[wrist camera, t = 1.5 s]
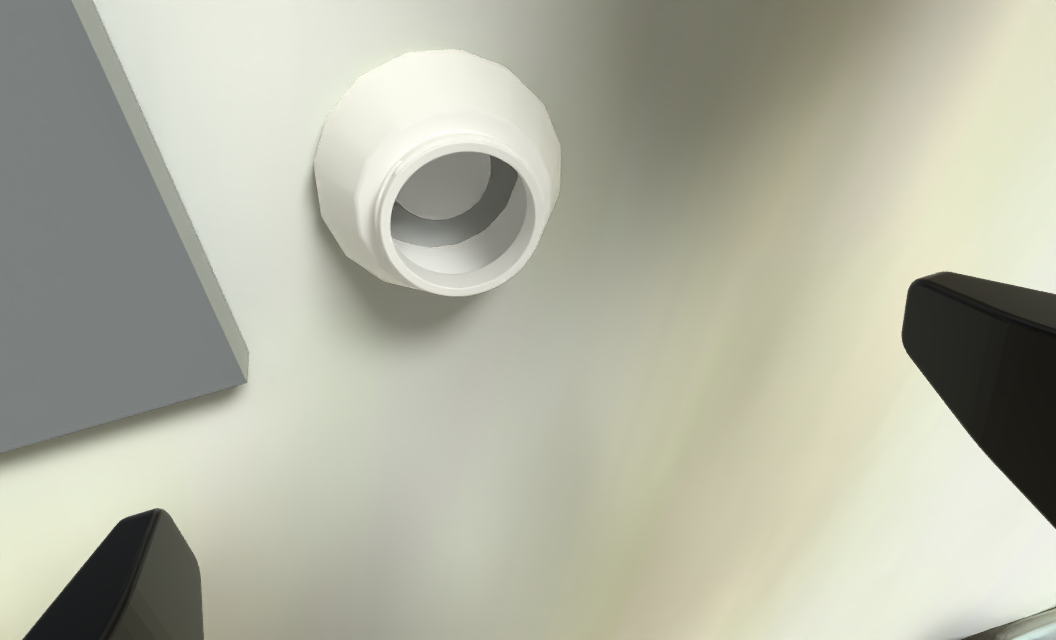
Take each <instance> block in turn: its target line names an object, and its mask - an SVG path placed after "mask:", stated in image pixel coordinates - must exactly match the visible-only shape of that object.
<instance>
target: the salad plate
mask: <svg viewBox="0 0 1056 640" xmlns="http://www.w3.org/2000/svg"><path fill="white" fill-rule="evenodd" d="M962 640H1056V608H1053V609H1050V610H1048V611H1045V612H1042V613H1039V614H1036V615H1033V616H1030V617H1027V618H1024V619H1021V620H1018V621H1015V622H1012V623H1009V624H1005V625H1002V626H999V627H995V628H992V629H989V630H986V631H984V632H981V633H978V634H975V635H973V636H970V637H967V638H964V639H962Z"/></svg>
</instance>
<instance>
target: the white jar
mask: <svg viewBox="0 0 1056 640" xmlns="http://www.w3.org/2000/svg"><path fill="white" fill-rule="evenodd" d="M489 155H491V156H494V157H496V158H499V159H501V160H503V161H504V162H506V163H508V164H509V165H510V166H512V167H513V168H514V169H515V170H516V171H517V181H516V184H515V186H514V189H513V191H512V194H511V196H510V199H509V201H508V204H507V206H506V208H505V209H504V210H503V211H502V212H501V213H500V214H499V216H498V217H497V218H496V219H495V220H494V221H493V222H492V223H491V224H490V225H489V226H488V228H487V229H486V230H484V231H482V232H480V233H478V234H476V235H474V236H472V237H470V238H469V239H467V240H465V241H463V242H461V243H459V244H453V245H445V246H437V247H429V248H427V247H423V246H419V245H414V244H410V243H406V242H402V241H398V240H396V239H395V238H393V237H392V236H391V228H390V223H391V213H392V209H393V205H394V202H395V199H396V200H397V202H398V203H399V204H400V205H401V206H402V207H403V208H404V209H405V210H407V211H408V212H410V213H411V214H413V215H415V216H418V217H421V218H424V219H429V220H444V219H450V218H453V217H456V216H459V215H461V214H463V213H464V212H466V211H468V210H469V209H470V208H472V207H473V206H474V205H475V204H476V203H477V202H478V201H479V200H480V198H481V197H482V196H483V194H484V192H485V190H486V188H487V186H488V183H489V179H490V174H491V161H490V156H489ZM560 170H561V146H560V143H559V141H558V138H557V136H556V133H555V131H554V128H553V126H552V123H551V121H550V118H549V116H548V113H547V111H546V108H545V106H544V104H543V103H542V102H541V101H540V100H539V99H538V98H537V97H536V96H535V95H534V94H533V93H532V92H531V91H530V90H529V89H528V88H527V87H526V86H525V85H524V84H523V83H522V82H521V81H520V80H519V79H518V78H517V77H516V76H515V75H514V74H513V73H512V72H511V71H510V70H508V69H507V68H506V67H505V66H502V65H500V64H497V63H494V62H492V61H489V60H486V59H484V58H481V57H478V56H476V55H473V54H470V53H468V52H465V51H462V50H460V49H454V50H436V51H418V52H406V53H404V54H402V55H400V56H398V57H396V58H394V59H392V60H390V61H388V62H386V63H384V64H382V65H380V66H378V67H376V68H374V69H372V70H370V71H368V72H366V73H364V74H362V75H360V76H359V78H358V79H357V80H356V81H355V82H354V84H353V85H352V86H351V87H350V88H349V90H348V91H347V92H346V93H345V94H344V96H343V97H342V98H341V99H340V101H339V102H338V103H337V104H336V105H335V107H334V108H333V109H332V110H331V111H330V113H329V114H328V115H327V118H326V121H325V125H324V128H323V132H322V135H321V139H320V142H319V146H318V150H317V153H316V157H315V160H314V171H315V178H316V184H317V191H318V198H319V204H320V211H321V217H322V219H323V220H324V222H325V223H326V225H327V226H328V228H329V230H330V231H331V233H332V234H333V236H334V237H335V239H336V241H337V242H338V244H339V245H340V247H341V248H342V250H343V251H344V253H345V255H346V256H347V257H349V258H350V259H352V260H353V261H354V262H356V263H357V264H359V265H360V266H362V267H363V268H365V269H366V270H368V271H369V272H371V273H372V274H373V275H375V276H376V277H378V278H379V279H381V280H382V281H384V282H388V283H392V284H396V285H400V286H404V287H409V288H413V289H417V290H422V291H426V292H430V293H434V294H438V295H443V296H469V295H475V294H479V293H483V292H486V291H488V290H491V289H493V288H495V287H497V286H499V285H501V284H503V283H504V282H506V281H507V280H509V279H510V278H511V277H513V276H514V275H515V274H516V273H517V272H518V271H519V270H520V269H522V267H523V266H524V265H525V264H526V263H527V261H528V260H529V259H530V257H531V256H532V254H533V252H534V251H535V249H536V247H537V245H538V242H539V240H540V238H541V236H542V233H543V231H544V229H545V226H546V224H547V222H548V219H549V217H550V215H551V212H552V210H553V208H554V205H555V203H556V201H557V198H558V196H559V193H560Z"/></svg>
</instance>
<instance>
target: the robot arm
mask: <svg viewBox="0 0 1056 640" xmlns="http://www.w3.org/2000/svg"><path fill="white" fill-rule="evenodd" d="M902 342H903V345H904V348H905V350H906V352H907V354H908V355H909V357H910V358H911V359H912V360H913V362H914V363H915V364H916V366H917V367H918V368H919V370H920V371H921V372H922V374H923V375H924V376H925V377H926V379H927V380H928V381H929V383H930V384H931V385H932V387H933V388H934V389H935V391H936V392H937V393H938V394H939V396H940V397H941V398H942V400H943V401H944V402H945V404H946V405H947V406H948V408H949V409H950V410H951V411H952V413H953V414H954V415H955V417H956V418H957V419H958V421H959V422H960V423H961V425H962V426H963V427H964V428H965V430H966V431H967V432H968V434H969V435H970V436H971V437H972V438H973V440H974V441H975V442H976V443H977V445H978V446H979V447H980V448H981V449H982V450H983V452H984V453H985V454H986V455H987V456H988V457H989V458H990V459H991V461H992V462H993V463H994V464H995V465H996V466H997V467H998V468H999V469H1000V470H1001V471H1002V472H1003V473H1004V474H1005V476H1006V477H1007V478H1008V479H1009V480H1010V481H1011V482H1012V483H1013V484H1014V485H1015V486H1016V487H1017V488H1018V489H1019V490H1020V492H1021V493H1022V494H1023V495H1024V496H1025V497H1026V498H1027V499H1028V500H1029V501H1030V502H1031V503H1032V504H1033V505H1034V506H1035V508H1036V509H1037V510H1038V511H1039V512H1040V513H1041V514H1042V515H1043V516H1044V517H1045V518H1046V519H1047V520H1048V521H1049V522H1050V524H1051V525H1052V526H1053V527H1054V528H1055V529H1056V294H1052V293H1047V292H1043V291H1038V290H1033V289H1028V288H1024V287H1019V286H1014V285H1010V284H1005V283H1000V282H995V281H991V280H986V279H981V278H976V277H972V276H967V275H962V274H958V273H953V272H939V273H935V274H932V275H928V276H925V277H922V278H919V279H916V280H915V281H913V282H912V284H911V285H910V287H909V289H908V293H907V299H906V306H905V313H904V320H903V327H902ZM22 640H204V632H203V613H202V594H201V577H200V570H199V566H198V563H197V560H196V557H195V556H194V554H193V552H192V550H191V549H190V547H189V546H188V544H187V542H186V541H185V539H184V537H183V536H182V534H181V532H180V531H179V529H178V527H177V526H176V524H175V523H174V521H173V519H172V518H171V516H170V515H169V514H168V513H167V512H166V511H165V510H163V509H159V508H156V509H152V510H149V511H146V512H142V513H139V514H136V515H132V516H129V517H126V518H124V519H122V520H121V521H120V522H119V523H118V524H117V525H116V526H115V527H114V528H113V530H112V531H111V532H110V533H109V534H108V536H107V537H106V538H105V539H104V541H103V542H102V543H101V544H100V545H99V547H98V548H97V549H96V550H95V552H94V553H93V554H92V555H91V556H90V558H89V559H88V560H87V561H86V563H85V564H84V565H83V566H82V567H81V569H80V570H79V571H78V572H77V574H76V575H75V576H74V577H73V578H72V580H71V581H70V582H69V583H68V584H67V586H66V587H65V588H64V589H63V591H62V592H61V593H60V594H59V595H58V597H57V598H56V599H55V600H54V602H53V603H52V604H51V605H50V606H49V608H48V609H47V610H46V611H45V613H44V614H43V615H42V616H41V617H40V619H39V620H38V621H37V622H36V624H35V625H34V626H33V627H32V628H31V630H30V631H29V632H28V633H27V635H26V636H25V637H24V638H23V639H22Z"/></svg>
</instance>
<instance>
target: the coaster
mask: <svg viewBox="0 0 1056 640" xmlns="http://www.w3.org/2000/svg"><path fill="white" fill-rule="evenodd" d="M248 361H249V351H248V349H247V346H246V344H245V342H244V340H243V337H242V335H241V333H240V331H239V328H238V326H237V324H236V322H235V319H234V317H233V315H232V313H231V310H230V308H229V306H228V304H227V301H226V299H225V297H224V295H223V292H222V290H221V288H220V286H219V283H218V281H217V279H216V277H215V274H214V272H213V270H212V268H211V266H210V263H209V261H208V259H207V257H206V254H205V252H204V250H203V248H202V245H201V243H200V241H199V239H198V236H197V234H196V232H195V230H194V227H193V225H192V223H191V221H190V218H189V216H188V214H187V212H186V209H185V207H184V205H183V203H182V200H181V198H180V196H179V194H178V191H177V189H176V187H175V185H174V182H173V180H172V178H171V176H170V173H169V171H168V169H167V167H166V164H165V162H164V160H163V158H162V155H161V153H160V151H159V149H158V146H157V144H156V142H155V140H154V137H153V135H152V133H151V131H150V128H149V126H148V124H147V122H146V119H145V117H144V115H143V113H142V110H141V108H140V106H139V104H138V101H137V99H136V97H135V95H134V92H133V90H132V88H131V86H130V83H129V81H128V79H127V77H126V74H125V72H124V70H123V68H122V65H121V63H120V61H119V59H118V56H117V54H116V52H115V50H114V47H113V45H112V43H111V41H110V38H109V36H108V34H107V32H106V29H105V27H104V25H103V23H102V20H101V18H100V16H99V14H98V11H97V9H96V7H95V5H94V2H93V0H0V453H2V452H6V451H9V450H13V449H16V448H20V447H23V446H27V445H30V444H34V443H37V442H41V441H44V440H48V439H51V438H55V437H58V436H62V435H65V434H69V433H72V432H76V431H79V430H83V429H86V428H90V427H93V426H97V425H100V424H104V423H107V422H111V421H115V420H118V419H122V418H125V417H129V416H132V415H136V414H139V413H143V412H146V411H150V410H153V409H157V408H160V407H164V406H167V405H171V404H174V403H178V402H181V401H185V400H188V399H192V398H195V397H199V396H202V395H206V394H209V393H213V392H216V391H220V390H223V389H227V388H230V387H234V386H238V385H241V384H245V383H247V376H248Z"/></svg>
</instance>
